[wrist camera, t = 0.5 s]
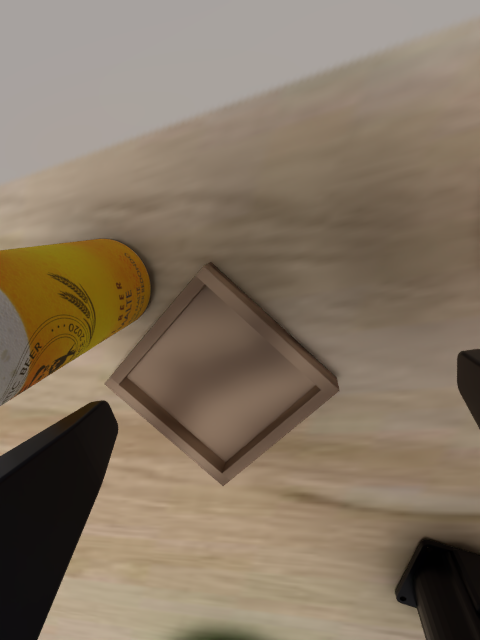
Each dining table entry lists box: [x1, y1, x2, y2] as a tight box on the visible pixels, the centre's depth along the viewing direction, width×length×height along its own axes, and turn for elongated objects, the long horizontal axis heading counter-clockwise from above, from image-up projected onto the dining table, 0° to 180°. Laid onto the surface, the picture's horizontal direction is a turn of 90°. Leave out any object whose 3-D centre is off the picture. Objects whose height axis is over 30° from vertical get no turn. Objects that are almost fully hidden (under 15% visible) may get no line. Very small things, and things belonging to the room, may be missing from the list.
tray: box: [105, 262, 339, 486], centre depth 24 cm, size 12×12×2 cm
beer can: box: [0, 239, 151, 406], centre depth 17 cm, size 6×6×15 cm
